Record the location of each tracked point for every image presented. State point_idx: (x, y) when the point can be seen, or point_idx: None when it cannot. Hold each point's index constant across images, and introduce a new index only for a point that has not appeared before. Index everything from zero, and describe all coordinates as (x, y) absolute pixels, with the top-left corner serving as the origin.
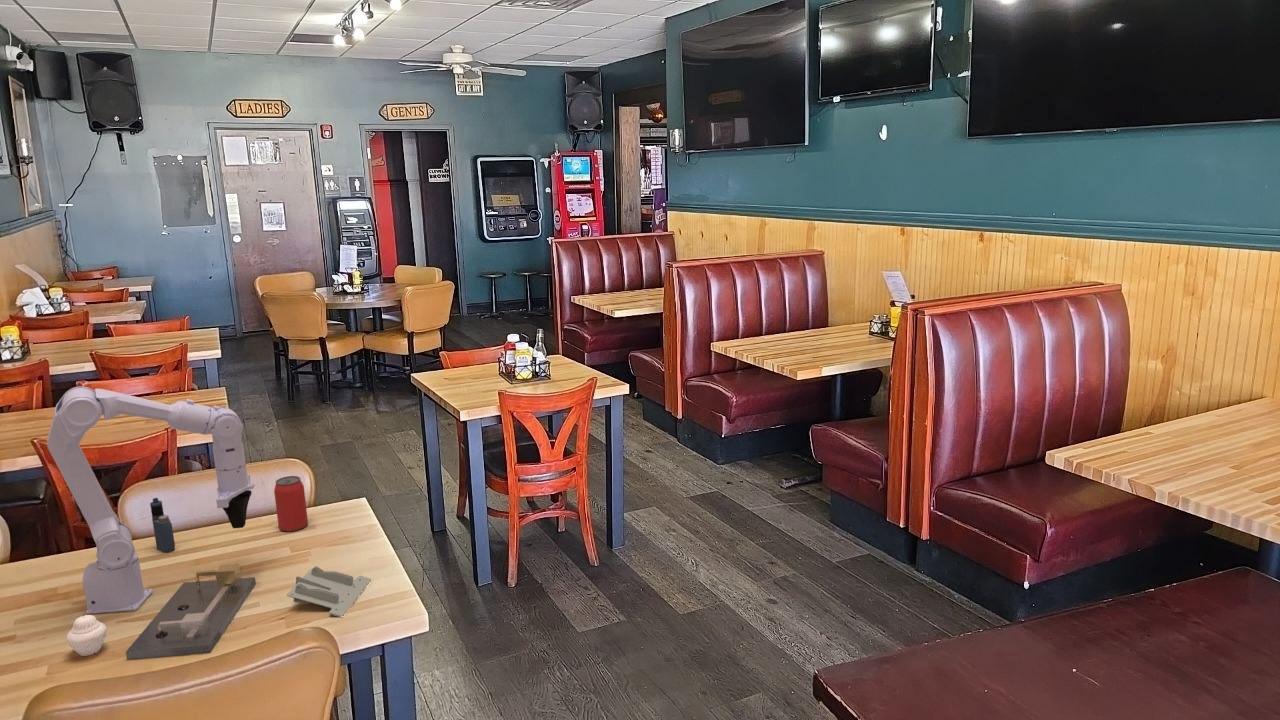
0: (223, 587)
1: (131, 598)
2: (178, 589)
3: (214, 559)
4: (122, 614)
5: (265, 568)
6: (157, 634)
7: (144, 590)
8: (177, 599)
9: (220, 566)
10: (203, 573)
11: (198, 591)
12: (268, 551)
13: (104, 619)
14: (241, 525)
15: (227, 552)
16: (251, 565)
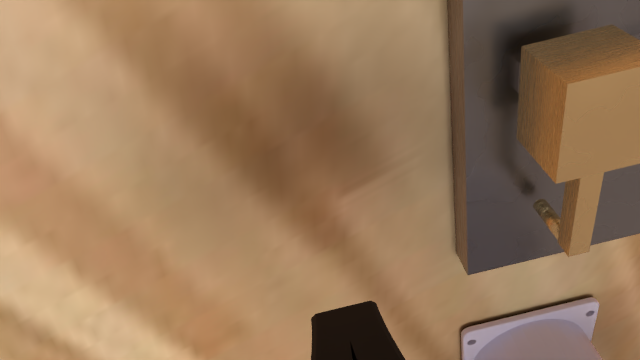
0: None
1: (585, 341)
2: (529, 258)
3: (185, 302)
4: (603, 312)
5: (242, 18)
6: None
7: (471, 348)
8: (624, 214)
9: (573, 175)
10: (591, 219)
11: None
12: (21, 126)
13: (620, 332)
14: (385, 325)
15: (105, 296)
16: (216, 120)
